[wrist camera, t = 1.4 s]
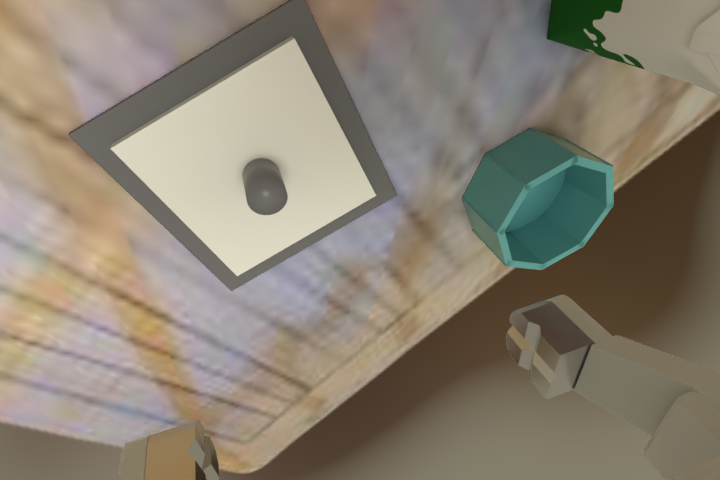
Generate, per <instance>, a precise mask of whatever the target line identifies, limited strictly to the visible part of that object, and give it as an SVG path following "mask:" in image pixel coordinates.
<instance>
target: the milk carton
mask: <svg viewBox="0 0 720 480" xmlns="http://www.w3.org/2000/svg"><path fill="white" fill-rule="evenodd" d="M547 39H550V40H553V41H556V42H559V43H562V44H565V45H568V46H571V47H575V48H578V49H581V50H584V51H587V52H590V53H593V54H596V55H600V56H603V57H606V58H609V59H613V60H616V61H619V62H622V63H626V64H629V65H632V66H636V67H639V68H642V69H645V70H649V71H652V72H655V73H658V74H662V75H665V76H668V77H671V78H675V79H678V80H681V81H684V82H688V83H691V84H694V85H697V86H699V87H702V88H704V89H706V90H708V91H711V92H713V93H715V94H717V95H719V96H720V0H552V6H551V13H550V21H549V29H548V37H547Z"/></svg>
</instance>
